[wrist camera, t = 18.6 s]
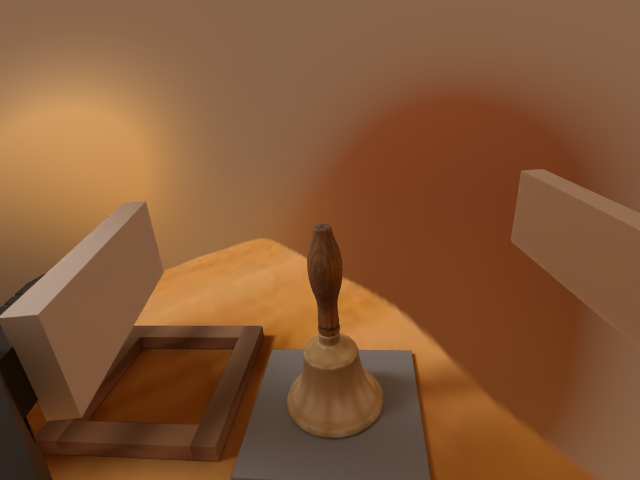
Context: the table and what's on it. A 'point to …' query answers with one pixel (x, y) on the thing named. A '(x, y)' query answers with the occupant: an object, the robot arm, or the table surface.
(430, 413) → the table surface
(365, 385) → the hand bell
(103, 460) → the table surface
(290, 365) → the rubber mat
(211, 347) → the square frame
